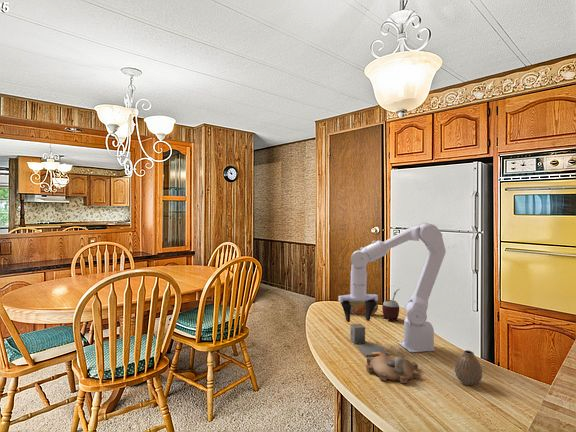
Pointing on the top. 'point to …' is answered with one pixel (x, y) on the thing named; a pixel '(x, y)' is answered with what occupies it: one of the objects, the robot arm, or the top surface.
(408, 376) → the sprocket wheel
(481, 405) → the top surface
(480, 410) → the top surface
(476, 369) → the vase
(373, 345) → the mat
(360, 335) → the link block
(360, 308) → the tin
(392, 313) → the mate gourd
